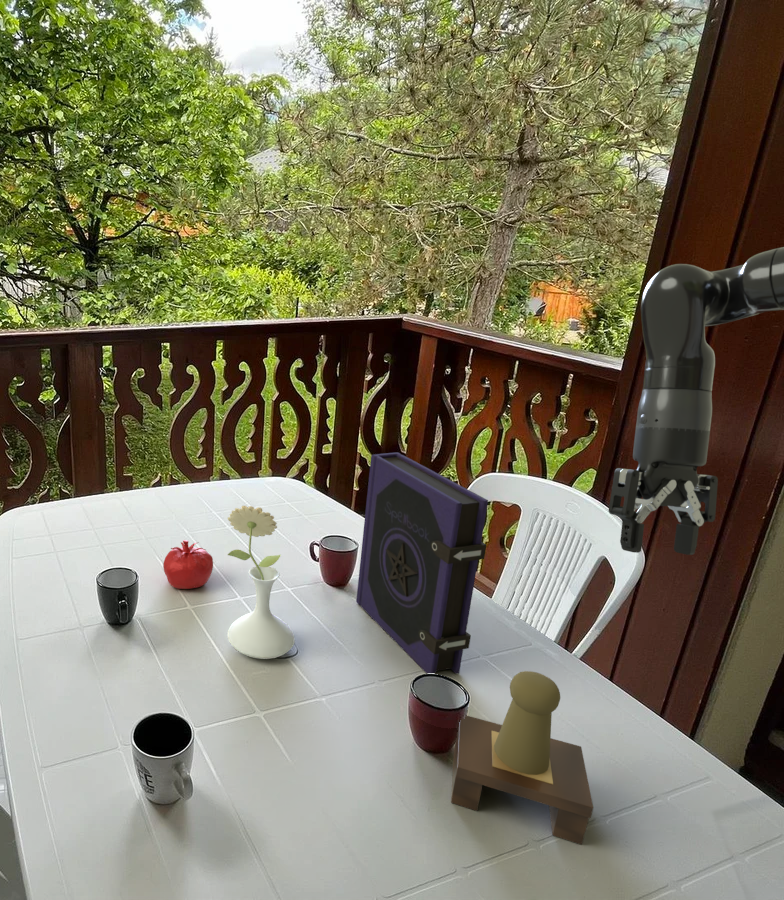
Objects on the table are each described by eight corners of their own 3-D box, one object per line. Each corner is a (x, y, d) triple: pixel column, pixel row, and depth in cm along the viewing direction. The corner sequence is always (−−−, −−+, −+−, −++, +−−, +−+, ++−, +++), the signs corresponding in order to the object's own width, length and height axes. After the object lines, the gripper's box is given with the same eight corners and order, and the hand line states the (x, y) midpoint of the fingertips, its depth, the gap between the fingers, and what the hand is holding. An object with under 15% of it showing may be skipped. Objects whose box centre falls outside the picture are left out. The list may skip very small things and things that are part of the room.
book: (354, 602, 122) (369, 454, 112) (383, 598, 123) (400, 451, 114) (430, 680, 100) (456, 505, 91) (464, 674, 102) (493, 501, 92)
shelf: (571, 784, 81) (581, 745, 79) (582, 848, 72) (593, 807, 70) (453, 749, 86) (460, 712, 85) (450, 806, 78) (457, 766, 76)
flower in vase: (305, 641, 110) (315, 507, 102) (273, 674, 101) (281, 532, 93) (241, 615, 117) (246, 489, 110) (206, 645, 109) (208, 510, 101)
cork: (548, 782, 74) (567, 704, 70) (491, 761, 77) (506, 685, 73) (549, 748, 79) (567, 673, 75) (496, 730, 82) (510, 657, 78)
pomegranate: (213, 595, 124) (214, 552, 121) (161, 594, 124) (161, 551, 121) (212, 570, 133) (213, 530, 130) (164, 569, 134) (164, 529, 131)
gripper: (655, 423, 76) (640, 557, 76) (747, 431, 79) (731, 560, 80) (600, 421, 83) (587, 544, 84) (686, 429, 86) (673, 548, 87)
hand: (657, 552), depth 82 cm, fingers open, 8 cm apart
